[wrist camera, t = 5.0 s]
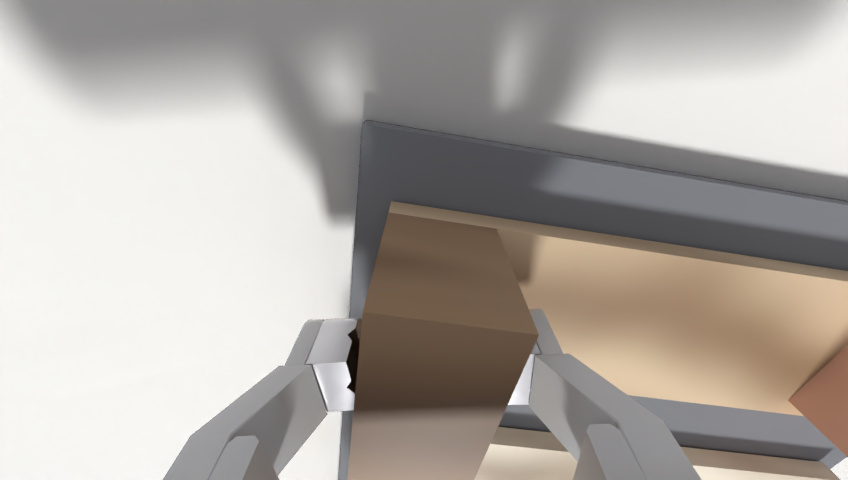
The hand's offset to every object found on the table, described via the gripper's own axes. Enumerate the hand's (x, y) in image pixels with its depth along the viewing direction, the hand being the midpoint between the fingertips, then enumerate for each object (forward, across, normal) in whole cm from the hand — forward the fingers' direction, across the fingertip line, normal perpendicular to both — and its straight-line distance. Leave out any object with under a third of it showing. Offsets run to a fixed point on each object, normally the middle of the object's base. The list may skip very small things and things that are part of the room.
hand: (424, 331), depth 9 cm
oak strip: (+2, -9, +2) cm, 10 cm away
